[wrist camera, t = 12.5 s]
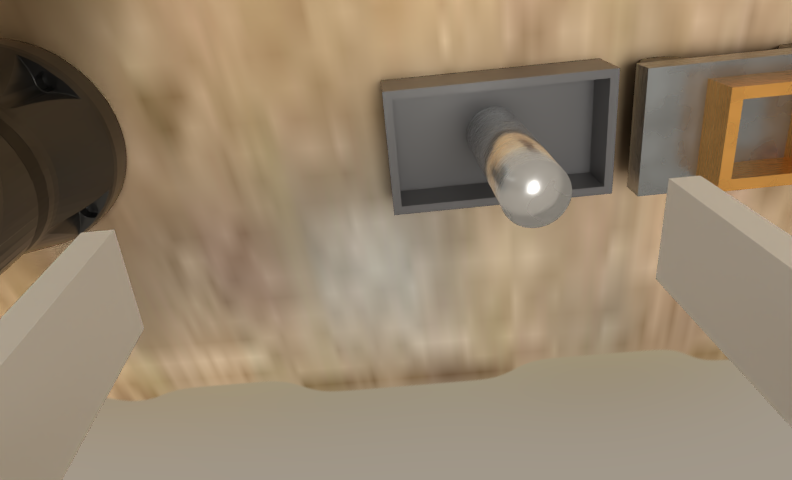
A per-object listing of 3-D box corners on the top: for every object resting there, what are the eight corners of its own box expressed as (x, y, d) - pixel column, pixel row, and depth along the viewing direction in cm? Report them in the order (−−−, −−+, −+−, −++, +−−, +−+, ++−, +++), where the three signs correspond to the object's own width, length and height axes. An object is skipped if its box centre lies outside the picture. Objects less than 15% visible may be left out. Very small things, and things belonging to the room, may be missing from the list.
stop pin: (467, 161, 47) (500, 231, 35) (465, 109, 45) (499, 164, 33) (519, 155, 47) (570, 224, 35) (519, 103, 45) (573, 156, 33)
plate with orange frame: (612, 173, 48) (655, 212, 41) (620, 56, 45) (668, 76, 37) (801, 154, 48) (877, 190, 41) (825, 35, 45) (913, 52, 37)
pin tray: (392, 195, 48) (394, 215, 45) (380, 80, 45) (382, 92, 41) (593, 175, 48) (611, 193, 45) (599, 58, 45) (620, 68, 41)
